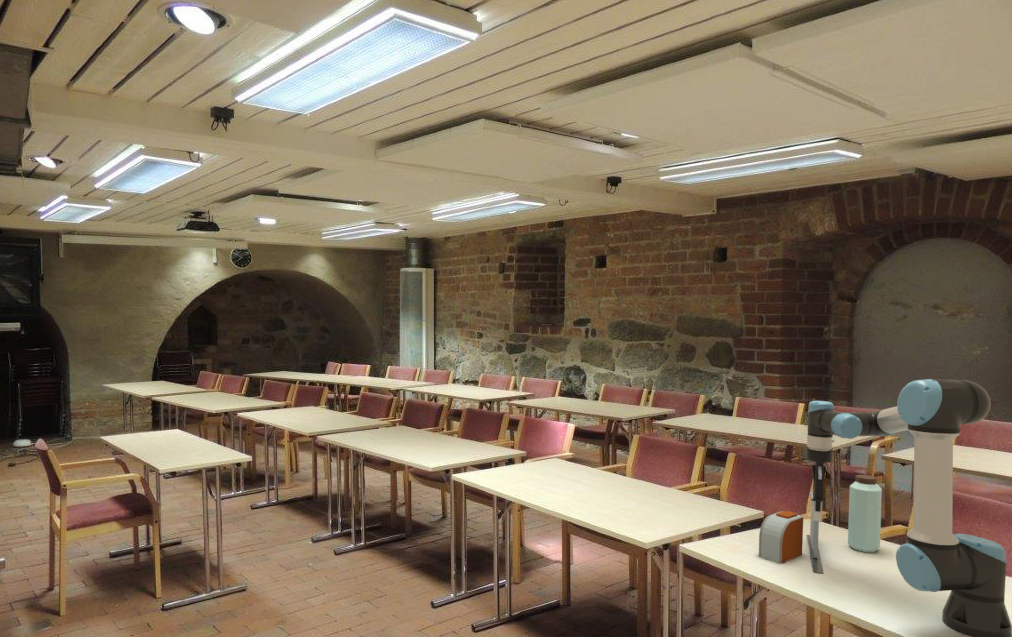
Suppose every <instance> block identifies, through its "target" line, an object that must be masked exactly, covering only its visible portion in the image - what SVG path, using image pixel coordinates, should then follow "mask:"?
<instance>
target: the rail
mask: <svg viewBox="0 0 1012 637" xmlns="http://www.w3.org/2000/svg"><path fill="white" fill-rule="evenodd" d="M806 540H807V547H808V551H809V552H808V553H809V555H810V556H809V557H810V562H811V568H812V573H815V574H822V575H823V574H825V573H824V569H823V563H822V559H821V558H822V557H821V555H820V550H819V548H818V558H814V556H813V551H812V546H811V540H810V534H806Z"/></svg>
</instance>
